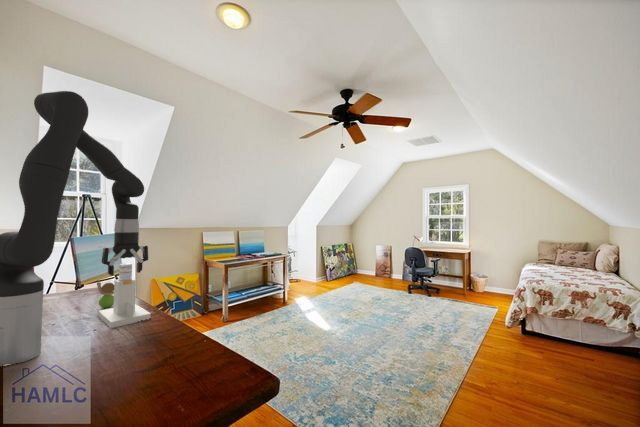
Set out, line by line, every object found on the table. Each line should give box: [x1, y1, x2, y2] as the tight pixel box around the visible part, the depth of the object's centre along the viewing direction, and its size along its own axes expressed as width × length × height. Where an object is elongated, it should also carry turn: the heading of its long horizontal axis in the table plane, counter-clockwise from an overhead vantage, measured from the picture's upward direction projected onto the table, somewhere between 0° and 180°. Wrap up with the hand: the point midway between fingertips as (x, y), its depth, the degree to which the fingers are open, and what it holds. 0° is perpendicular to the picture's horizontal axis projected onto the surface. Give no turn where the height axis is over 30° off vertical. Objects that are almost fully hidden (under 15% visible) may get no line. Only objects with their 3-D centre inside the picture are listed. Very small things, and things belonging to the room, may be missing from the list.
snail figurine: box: [96, 279, 114, 309], centre depth 112 cm, size 5×6×12 cm
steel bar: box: [118, 262, 133, 281], centre depth 102 cm, size 3×3×17 cm
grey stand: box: [97, 277, 152, 329], centre depth 102 cm, size 18×12×14 cm, turn 50°
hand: (125, 273), depth 102 cm, fingers open, 8 cm apart
